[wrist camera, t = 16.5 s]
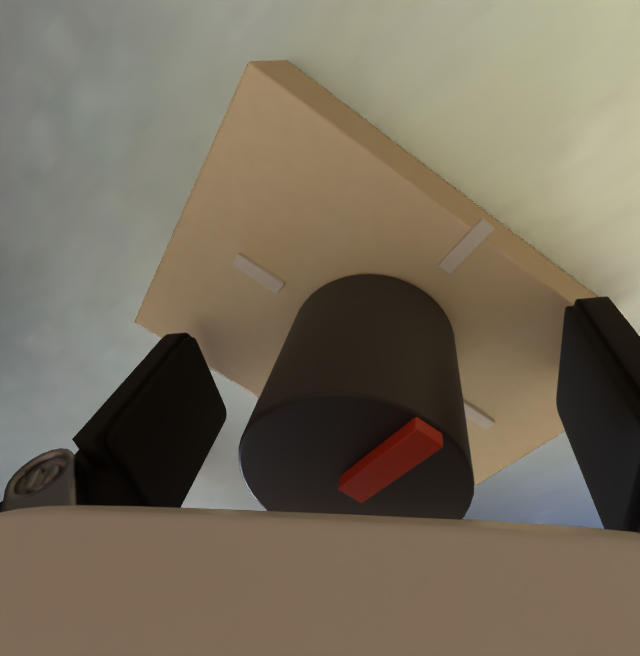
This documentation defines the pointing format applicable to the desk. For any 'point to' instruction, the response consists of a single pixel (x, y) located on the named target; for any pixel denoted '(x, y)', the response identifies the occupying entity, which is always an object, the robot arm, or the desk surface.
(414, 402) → the knob
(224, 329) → the dial plate
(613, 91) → the desk surface
